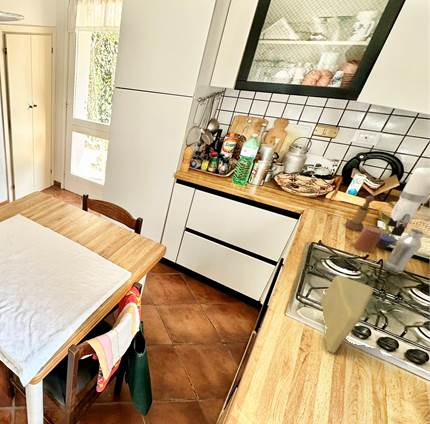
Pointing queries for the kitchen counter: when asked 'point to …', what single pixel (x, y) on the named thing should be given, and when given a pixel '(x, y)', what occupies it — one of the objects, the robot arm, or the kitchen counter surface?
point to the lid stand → (382, 245)
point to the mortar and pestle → (360, 215)
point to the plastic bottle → (403, 251)
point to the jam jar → (368, 239)
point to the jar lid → (387, 239)
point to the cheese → (343, 309)
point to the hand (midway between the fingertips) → (393, 230)
